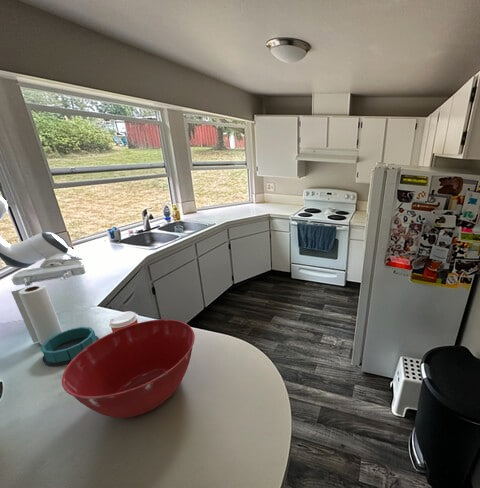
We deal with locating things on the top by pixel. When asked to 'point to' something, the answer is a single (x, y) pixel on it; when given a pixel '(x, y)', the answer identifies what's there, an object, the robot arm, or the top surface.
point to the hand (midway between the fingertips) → (45, 281)
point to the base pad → (67, 345)
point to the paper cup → (123, 320)
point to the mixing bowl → (131, 368)
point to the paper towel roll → (37, 312)
